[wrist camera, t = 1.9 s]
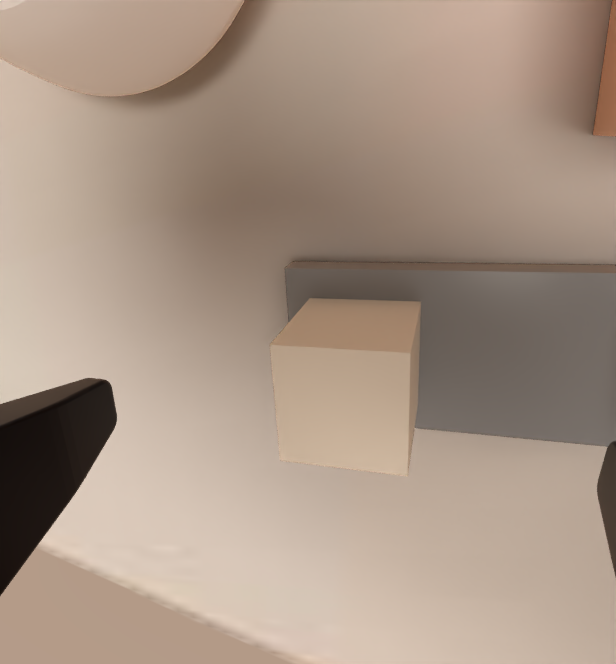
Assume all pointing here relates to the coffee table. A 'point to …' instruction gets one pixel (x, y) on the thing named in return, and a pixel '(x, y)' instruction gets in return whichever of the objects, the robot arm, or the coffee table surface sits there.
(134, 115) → the coffee table surface
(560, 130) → the coffee table surface
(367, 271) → the slate board
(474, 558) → the coffee table surface
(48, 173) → the coffee table surface
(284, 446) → the block
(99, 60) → the teapot
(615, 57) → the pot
